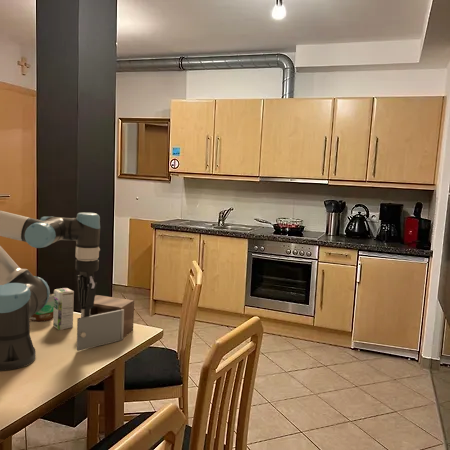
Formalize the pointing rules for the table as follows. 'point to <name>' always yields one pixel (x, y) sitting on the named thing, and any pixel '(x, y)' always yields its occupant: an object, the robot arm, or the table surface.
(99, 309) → the cabinet
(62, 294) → the syrup box
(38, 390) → the table surface
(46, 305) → the food container
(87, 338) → the door
